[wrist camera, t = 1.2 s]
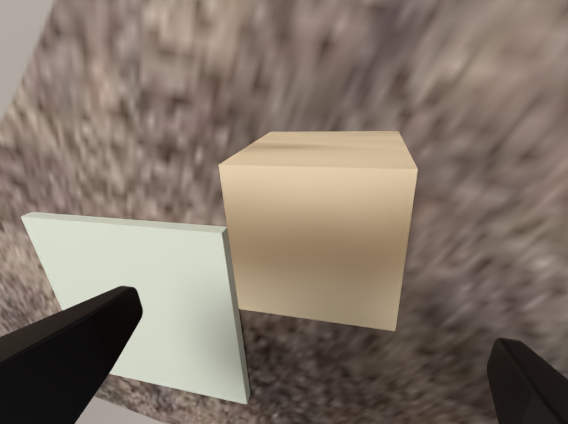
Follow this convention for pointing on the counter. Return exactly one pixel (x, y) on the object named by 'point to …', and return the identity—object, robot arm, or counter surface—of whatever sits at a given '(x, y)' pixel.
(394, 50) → the counter surface
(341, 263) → the maple cube
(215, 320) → the sage mat
